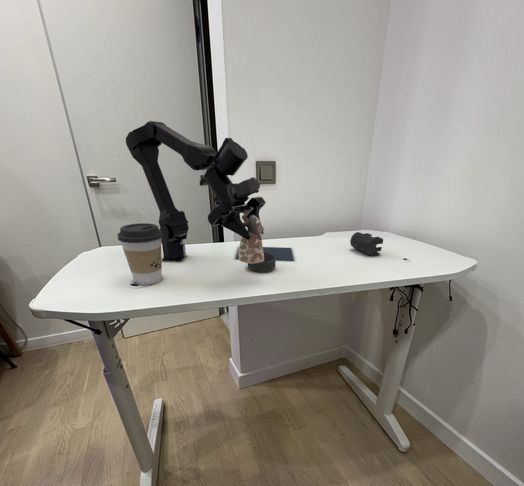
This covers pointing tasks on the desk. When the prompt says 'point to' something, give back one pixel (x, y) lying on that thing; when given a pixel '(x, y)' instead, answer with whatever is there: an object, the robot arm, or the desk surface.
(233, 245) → the desk surface
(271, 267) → the smart speaker
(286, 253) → the mat
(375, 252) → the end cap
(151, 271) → the coffee cup
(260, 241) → the figurine
